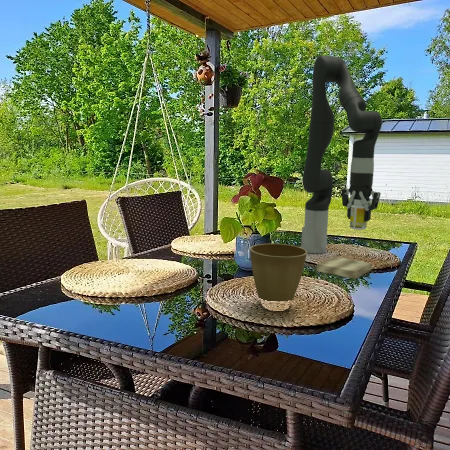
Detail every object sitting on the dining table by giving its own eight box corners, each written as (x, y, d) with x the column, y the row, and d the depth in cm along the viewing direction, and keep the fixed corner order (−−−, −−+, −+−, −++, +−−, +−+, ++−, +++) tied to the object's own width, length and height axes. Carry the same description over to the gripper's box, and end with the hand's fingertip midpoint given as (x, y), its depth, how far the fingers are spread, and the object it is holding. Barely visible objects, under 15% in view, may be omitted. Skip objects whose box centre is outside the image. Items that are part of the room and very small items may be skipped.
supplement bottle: (369, 229, 160) (371, 199, 158) (360, 230, 156) (362, 200, 154) (355, 226, 164) (357, 198, 162) (346, 228, 160) (348, 199, 159)
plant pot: (267, 321, 114) (270, 258, 111) (238, 302, 127) (239, 245, 124) (315, 312, 121) (319, 252, 118) (283, 295, 134) (285, 241, 131)
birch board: (316, 271, 159) (316, 263, 159) (333, 263, 170) (334, 256, 169) (355, 278, 151) (355, 271, 150) (371, 269, 162) (371, 263, 161)
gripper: (337, 170, 159) (334, 218, 162) (375, 173, 149) (372, 224, 152) (349, 169, 164) (346, 216, 167) (387, 172, 154) (383, 221, 157)
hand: (358, 220), depth 160 cm, fingers closed on supplement bottle, 5 cm apart
